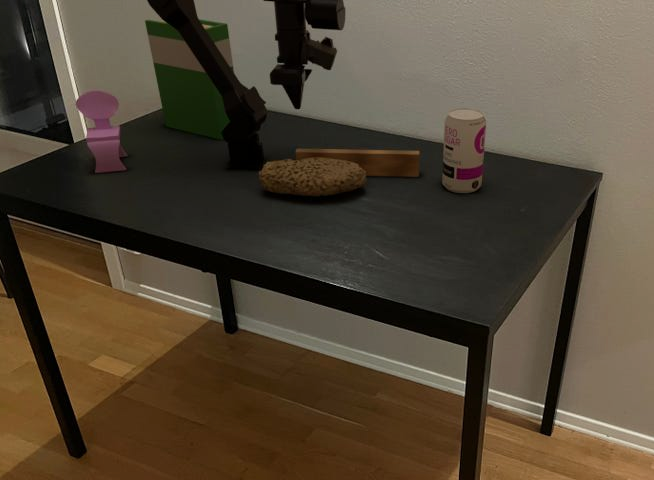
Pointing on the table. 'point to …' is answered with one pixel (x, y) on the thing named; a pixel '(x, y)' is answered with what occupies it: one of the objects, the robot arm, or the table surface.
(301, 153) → the back rail
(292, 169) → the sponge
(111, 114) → the toy chair
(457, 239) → the table surface
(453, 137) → the supplement can
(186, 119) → the hardback book
